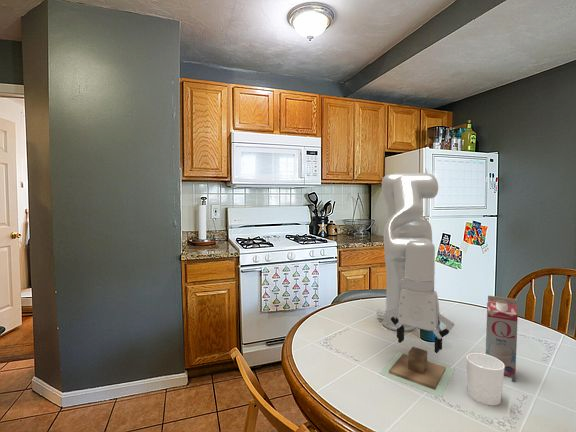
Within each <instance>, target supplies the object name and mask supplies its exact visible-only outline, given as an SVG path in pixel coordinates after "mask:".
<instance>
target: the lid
mask: <svg viewBox="0 0 576 432" xmlns="http://www.w3.org/2000/svg"><path fill="white" fill-rule="evenodd" d="M406 354H408V355H406ZM428 361H429V360H428V350H426V349H422V348H419V347H415V346H412V347H411V348H410V349H409V350H408V353H405V354H402V356H401V357H400V358H399V359H398V360H397V361H396V363H395V364H394V365H393V366H392V367H391V368H390V370H389V373H390V374H392V375H395V376H398V377H401V378H403V379H406V380H409V381H412V382H414V383H417V384H420V385H423V386H425V387H428V388H431V389H434V390H435V389H436V387H437V385H438V383H439V381H440V379H441V378H442V376H443V374H444V372H445V370H446V367H444V366H445V365H443V366H441V365H442V364H440V365H438V364H439V363H437V364H435V363H436V362H434V363H432V362H433V361H431V362H428Z"/></svg>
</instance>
